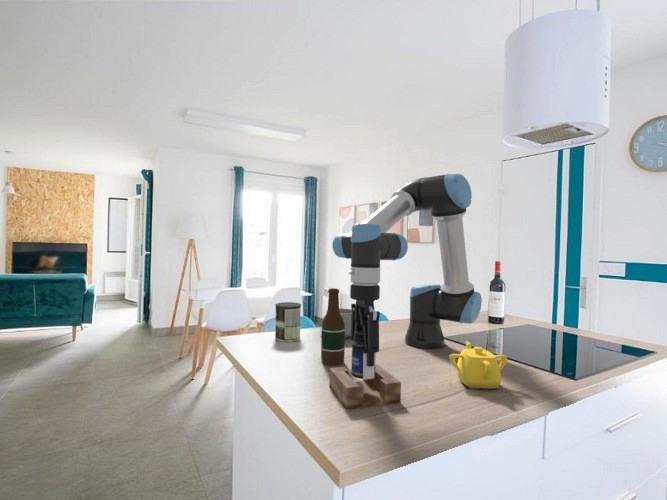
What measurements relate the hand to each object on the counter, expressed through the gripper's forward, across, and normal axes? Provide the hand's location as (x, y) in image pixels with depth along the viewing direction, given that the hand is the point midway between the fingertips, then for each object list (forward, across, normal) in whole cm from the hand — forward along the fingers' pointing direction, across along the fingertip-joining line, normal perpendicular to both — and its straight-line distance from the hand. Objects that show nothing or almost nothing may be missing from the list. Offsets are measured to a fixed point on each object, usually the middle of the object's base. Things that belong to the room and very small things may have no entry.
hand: (363, 373), depth 94 cm
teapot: (+6, +1, +34) cm, 35 cm away
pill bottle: (+1, 0, 0) cm, 1 cm away
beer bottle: (+6, -27, 0) cm, 28 cm away
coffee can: (+6, -60, -9) cm, 61 cm away
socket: (+5, 0, 0) cm, 5 cm away
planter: (+6, -58, +13) cm, 60 cm away
